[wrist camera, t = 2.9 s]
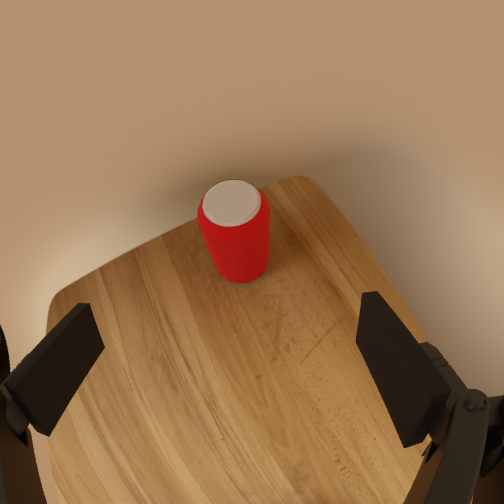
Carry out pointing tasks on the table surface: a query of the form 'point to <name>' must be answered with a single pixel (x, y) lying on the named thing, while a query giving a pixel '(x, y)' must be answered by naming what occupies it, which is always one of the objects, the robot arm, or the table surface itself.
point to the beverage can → (236, 229)
